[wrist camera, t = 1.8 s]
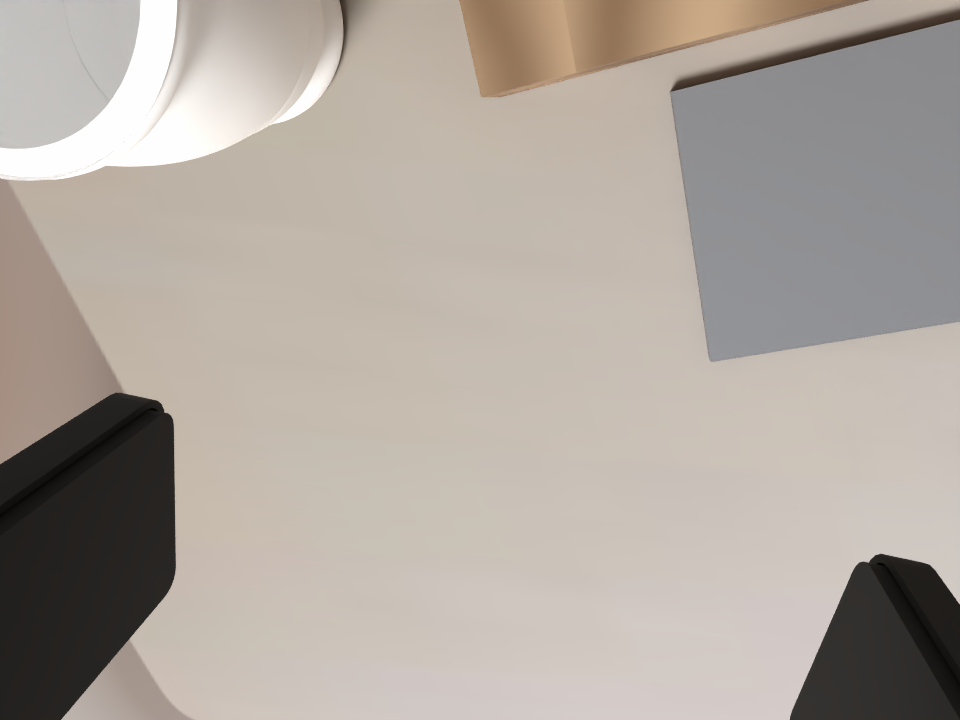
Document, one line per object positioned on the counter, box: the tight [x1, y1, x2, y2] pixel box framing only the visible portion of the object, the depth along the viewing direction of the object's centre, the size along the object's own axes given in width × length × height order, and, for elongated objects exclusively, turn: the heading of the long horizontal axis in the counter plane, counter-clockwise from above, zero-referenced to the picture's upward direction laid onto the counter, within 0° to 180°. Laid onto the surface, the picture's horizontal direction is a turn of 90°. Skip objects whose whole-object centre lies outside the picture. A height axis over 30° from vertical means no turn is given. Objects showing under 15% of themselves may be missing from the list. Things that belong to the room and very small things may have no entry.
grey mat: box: [670, 19, 960, 362], centre depth 30 cm, size 12×12×1 cm
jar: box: [0, 0, 343, 181], centre depth 24 cm, size 11×10×15 cm
